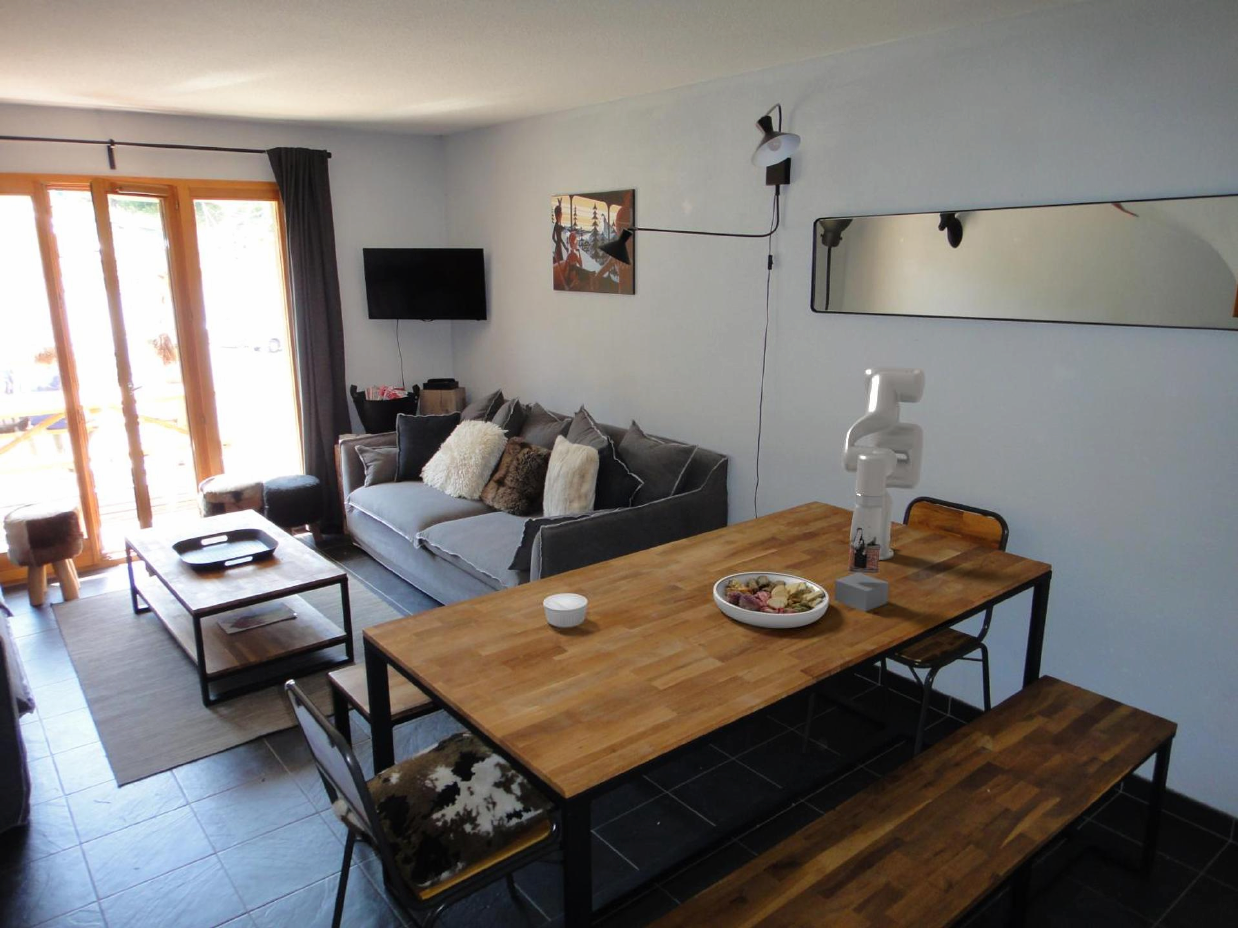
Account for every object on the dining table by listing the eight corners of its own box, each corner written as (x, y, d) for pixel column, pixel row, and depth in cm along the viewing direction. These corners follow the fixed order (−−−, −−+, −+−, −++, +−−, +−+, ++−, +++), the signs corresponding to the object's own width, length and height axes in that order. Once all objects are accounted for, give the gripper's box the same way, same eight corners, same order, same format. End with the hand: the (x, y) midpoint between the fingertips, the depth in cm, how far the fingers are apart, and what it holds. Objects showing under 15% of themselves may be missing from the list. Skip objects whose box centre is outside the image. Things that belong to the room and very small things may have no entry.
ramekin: (535, 625, 211) (535, 605, 210) (555, 608, 221) (555, 590, 220) (576, 632, 207) (576, 612, 206) (594, 615, 217) (594, 596, 216)
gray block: (856, 592, 236) (857, 572, 234) (887, 603, 228) (889, 582, 227) (833, 600, 229) (835, 580, 228) (864, 612, 222) (866, 591, 220)
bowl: (745, 580, 244) (746, 554, 242) (844, 605, 227) (847, 577, 225) (691, 613, 220) (693, 585, 218) (799, 644, 203) (801, 613, 201)
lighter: (877, 569, 228) (880, 534, 226) (879, 573, 224) (882, 537, 222) (846, 567, 229) (849, 532, 227) (848, 571, 226) (851, 536, 223)
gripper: (867, 490, 231) (862, 553, 235) (842, 504, 218) (837, 570, 222) (894, 495, 226) (888, 559, 231) (871, 509, 213) (865, 576, 218)
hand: (863, 564), depth 226 cm, fingers closed on lighter, 4 cm apart
